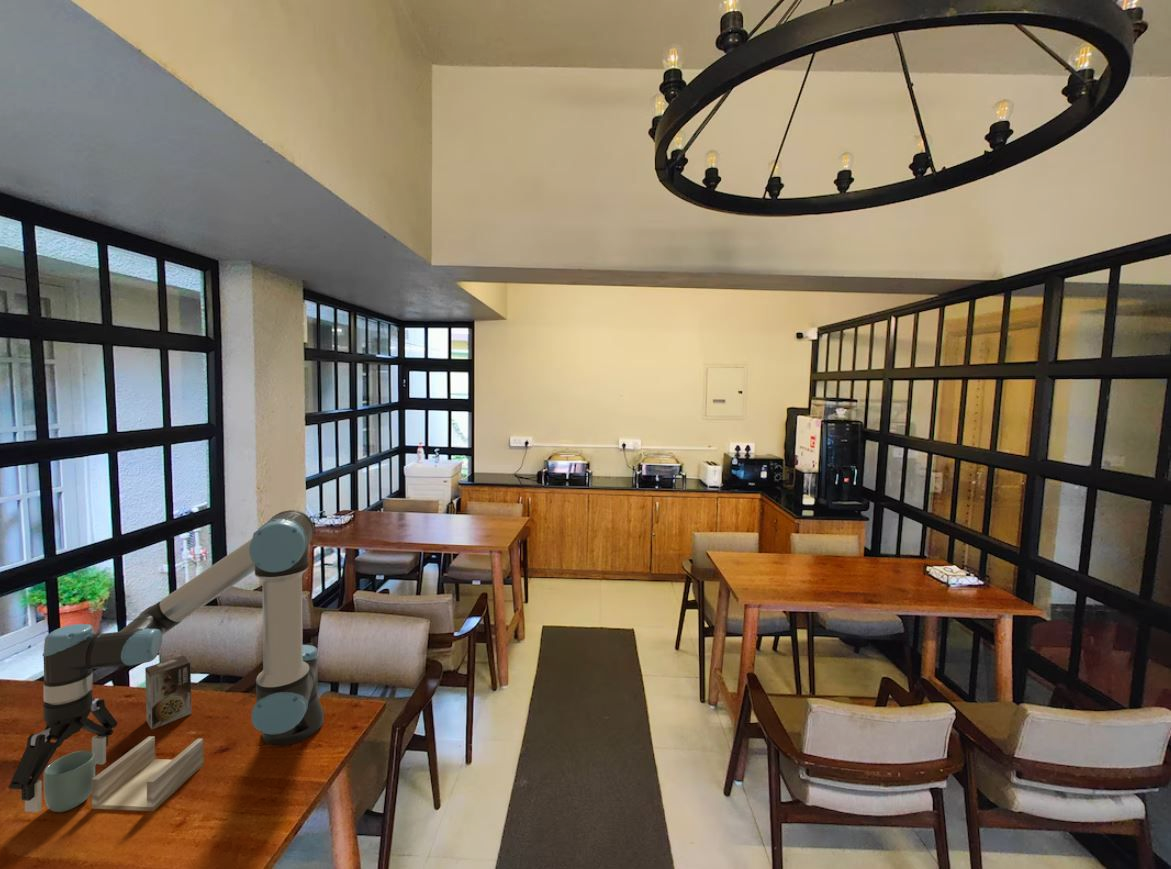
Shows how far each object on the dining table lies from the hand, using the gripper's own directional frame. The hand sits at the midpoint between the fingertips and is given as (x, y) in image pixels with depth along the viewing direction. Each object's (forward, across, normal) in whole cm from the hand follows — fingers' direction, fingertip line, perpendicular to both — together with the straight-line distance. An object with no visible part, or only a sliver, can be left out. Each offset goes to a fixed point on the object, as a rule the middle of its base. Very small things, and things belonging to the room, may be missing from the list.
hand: (68, 785), depth 108 cm
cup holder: (+4, -6, +13) cm, 15 cm away
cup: (+5, 0, 0) cm, 5 cm away
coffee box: (+5, -30, -4) cm, 31 cm away
